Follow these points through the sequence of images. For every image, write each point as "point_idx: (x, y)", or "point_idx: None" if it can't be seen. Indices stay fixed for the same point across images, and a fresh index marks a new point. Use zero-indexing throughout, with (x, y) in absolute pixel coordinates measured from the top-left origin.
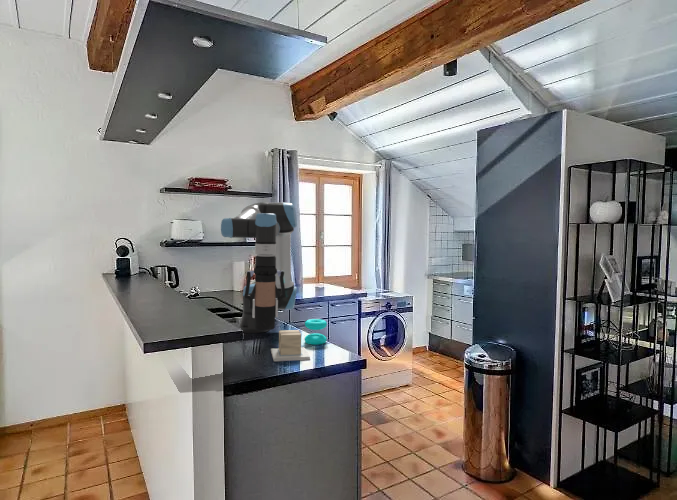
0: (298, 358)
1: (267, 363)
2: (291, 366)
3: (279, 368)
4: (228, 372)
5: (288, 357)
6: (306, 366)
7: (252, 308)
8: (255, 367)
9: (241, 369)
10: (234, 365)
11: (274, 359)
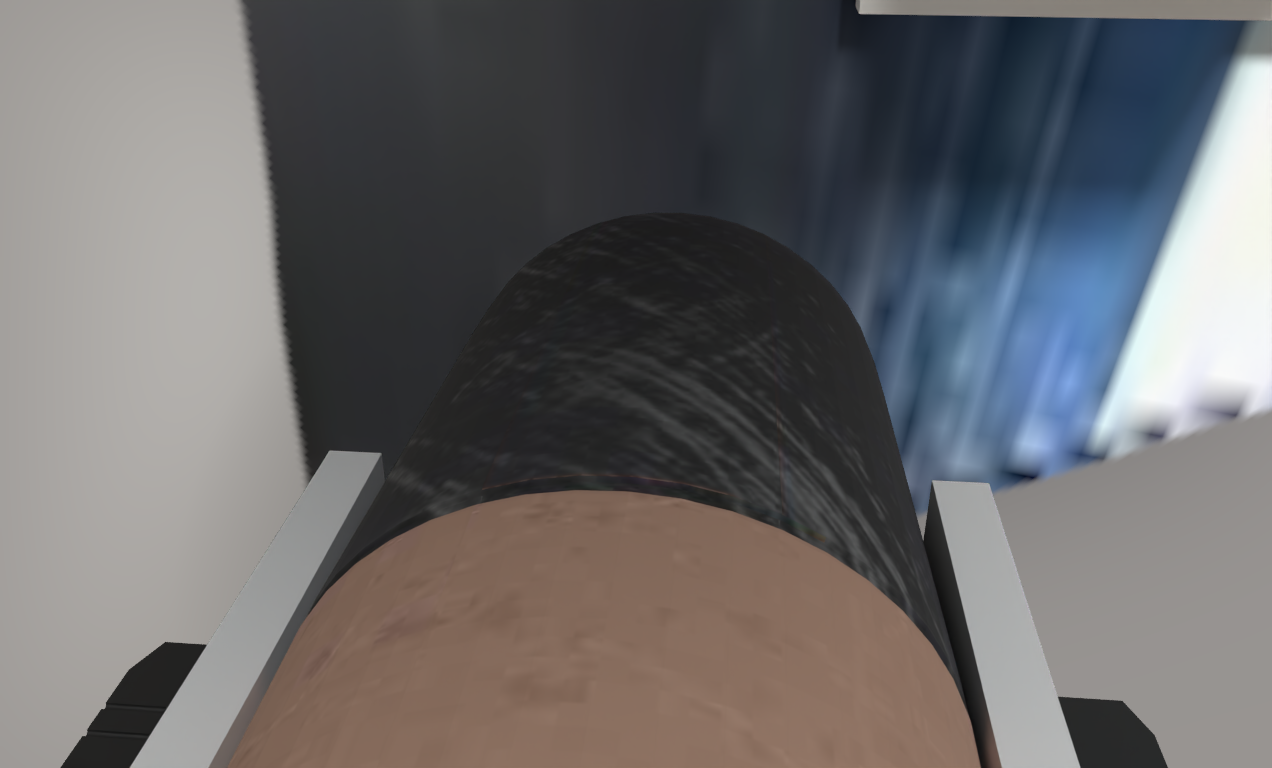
0: (1240, 16)
1: (752, 83)
2: (1040, 270)
3: (872, 316)
4: (286, 339)
5: (1088, 8)
6: (1230, 307)
7: (249, 596)
8: (585, 223)
9: (420, 265)
10: (319, 90)
11: (866, 9)
